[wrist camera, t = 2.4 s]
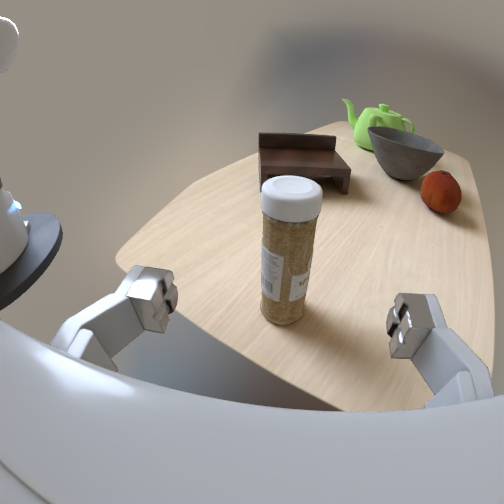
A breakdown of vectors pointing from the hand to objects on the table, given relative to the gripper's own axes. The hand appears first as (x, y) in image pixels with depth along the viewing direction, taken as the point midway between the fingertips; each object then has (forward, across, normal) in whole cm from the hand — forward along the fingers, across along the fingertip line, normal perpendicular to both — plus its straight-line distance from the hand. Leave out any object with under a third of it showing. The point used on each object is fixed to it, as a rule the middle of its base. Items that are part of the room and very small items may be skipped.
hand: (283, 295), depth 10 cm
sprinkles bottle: (+12, 0, +15) cm, 19 cm away
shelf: (+45, -1, +15) cm, 48 cm away
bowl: (+55, -25, +15) cm, 62 cm away
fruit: (+40, -29, +15) cm, 52 cm away
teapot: (+79, -24, +15) cm, 84 cm away
